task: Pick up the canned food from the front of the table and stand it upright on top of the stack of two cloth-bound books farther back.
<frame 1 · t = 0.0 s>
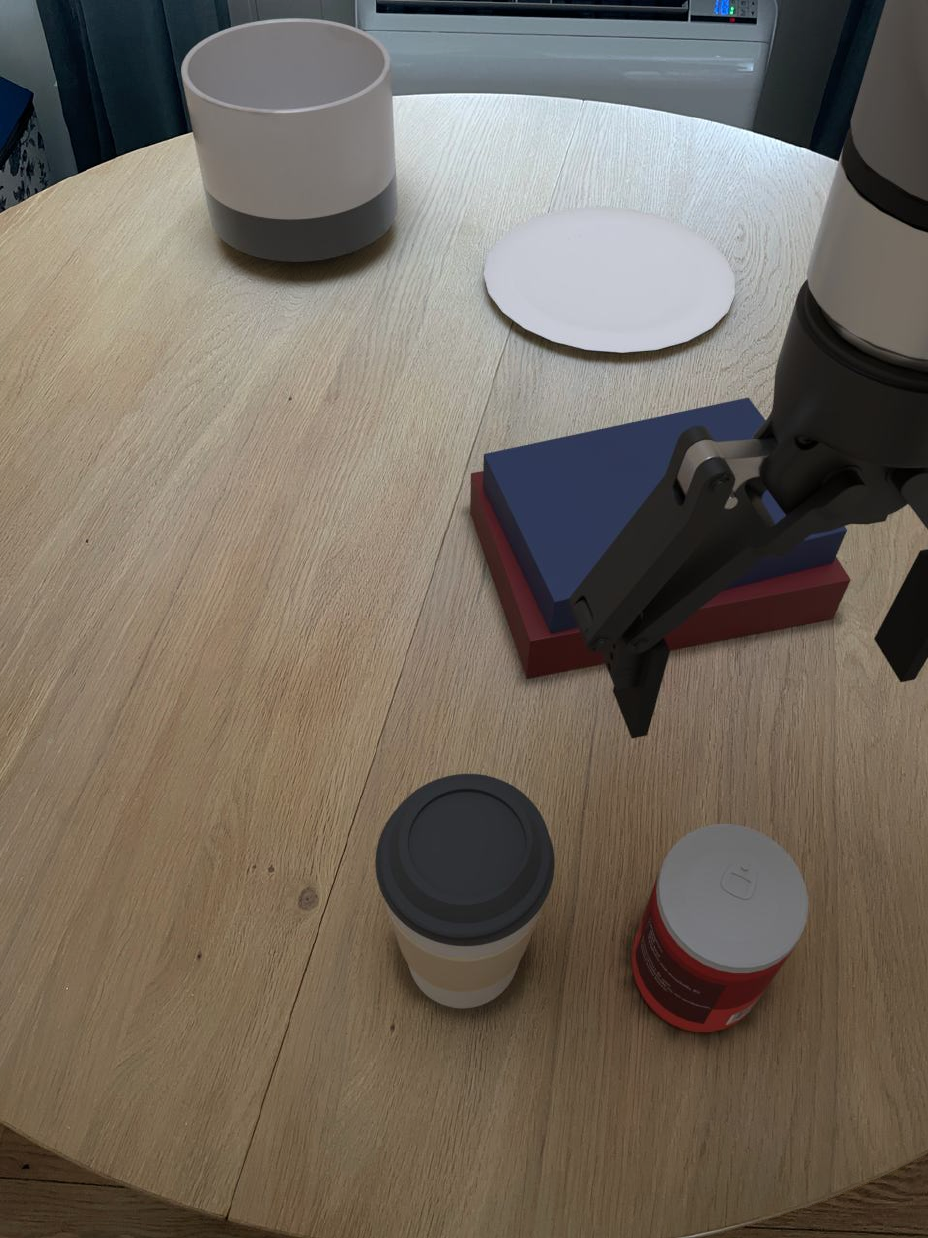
hand: (764, 686, 50), 20 cm above the table, tool pointing down, fingers open, 13 cm apart
canned food: (693, 970, 62), on the table
planter: (307, 237, 110), on the table
coffee cup: (463, 951, 62), on the table
plate: (607, 288, 105), on the table
book stack: (644, 563, 82), on the table
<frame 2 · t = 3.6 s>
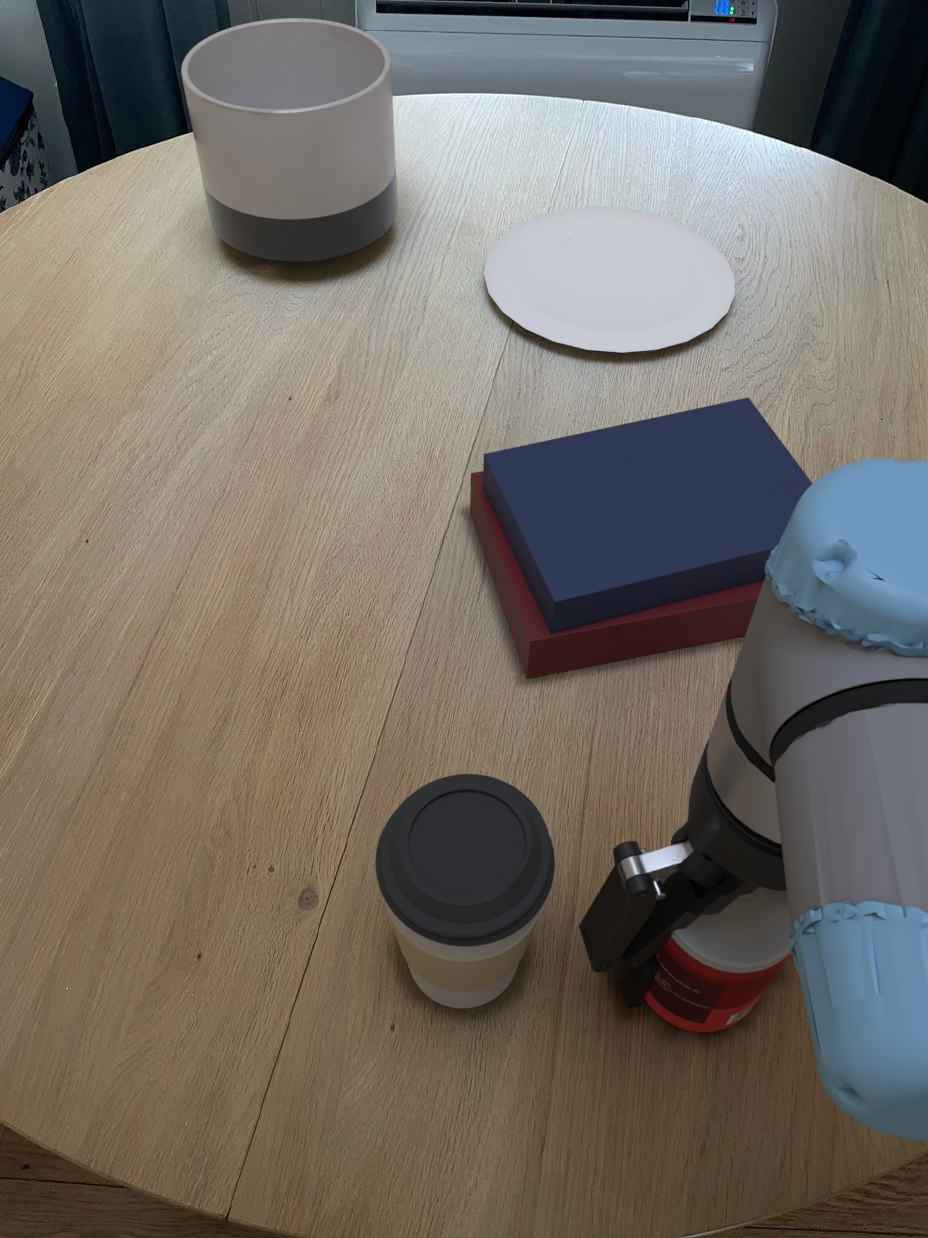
hand: (695, 967, 61), 0 cm above the table, tool pointing down, fingers closed on canned food, 8 cm apart
canned food: (693, 969, 62), on the table, touching gripper
everything else where it was.
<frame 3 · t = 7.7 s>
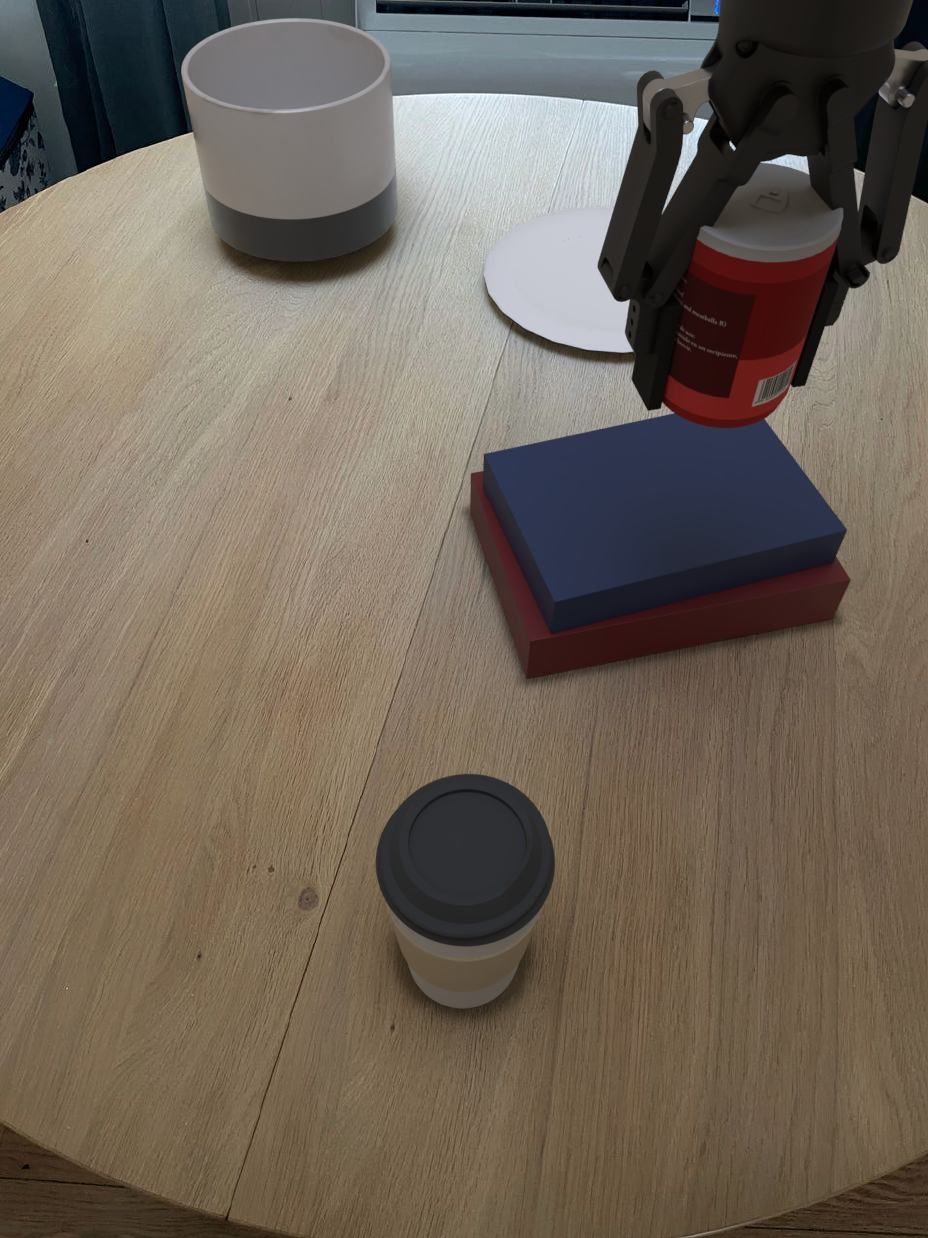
hand: (718, 382, 58), 24 cm above the table, tool pointing down, fingers closed on canned food, 8 cm apart
canned food: (716, 387, 58), point 24 cm above the table, touching gripper
everything else where it was.
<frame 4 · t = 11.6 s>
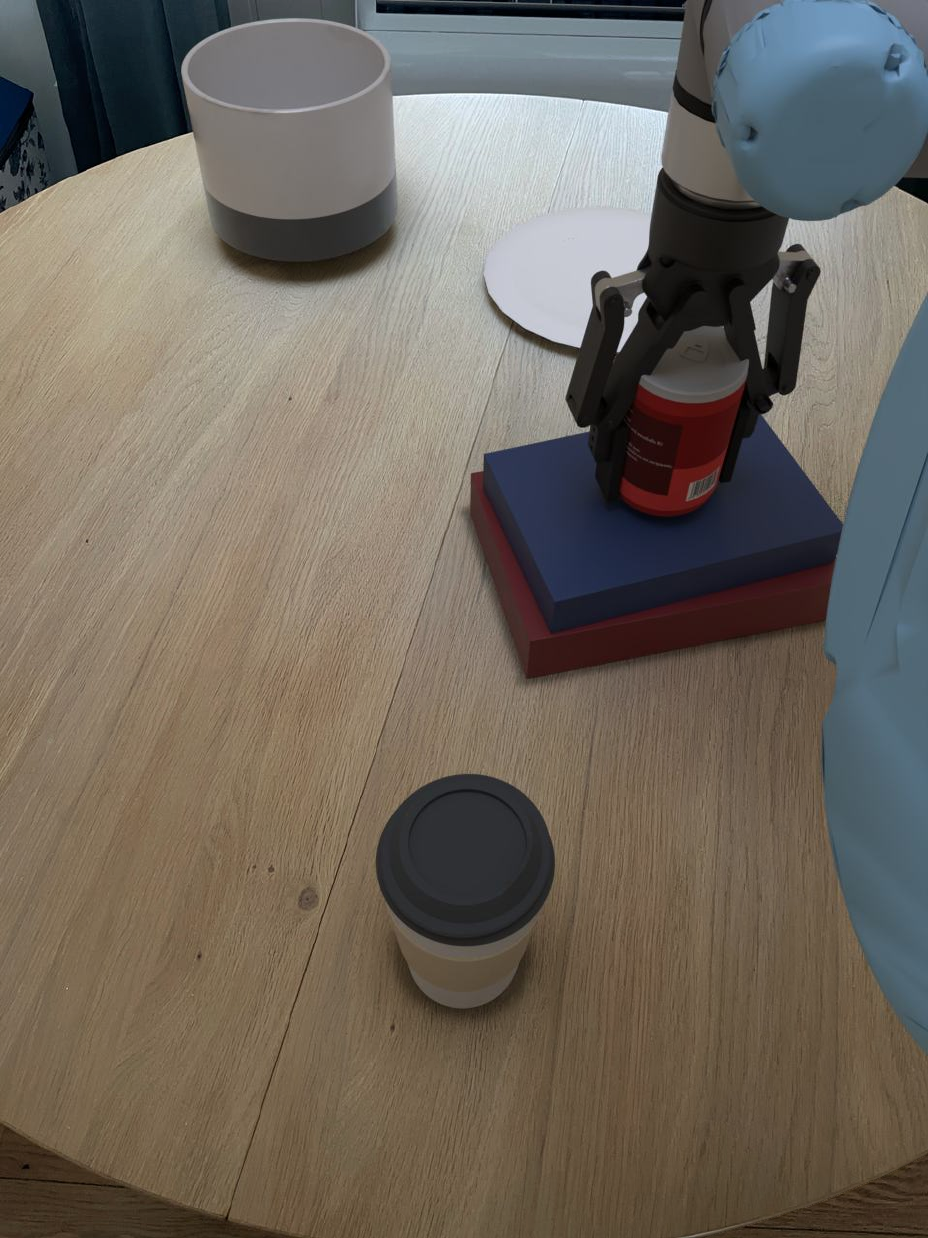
hand: (662, 478, 74), 9 cm above the table, tool pointing down, fingers closed on canned food, 8 cm apart
canned food: (661, 482, 75), point 9 cm above the table, touching gripper
everything else where it was.
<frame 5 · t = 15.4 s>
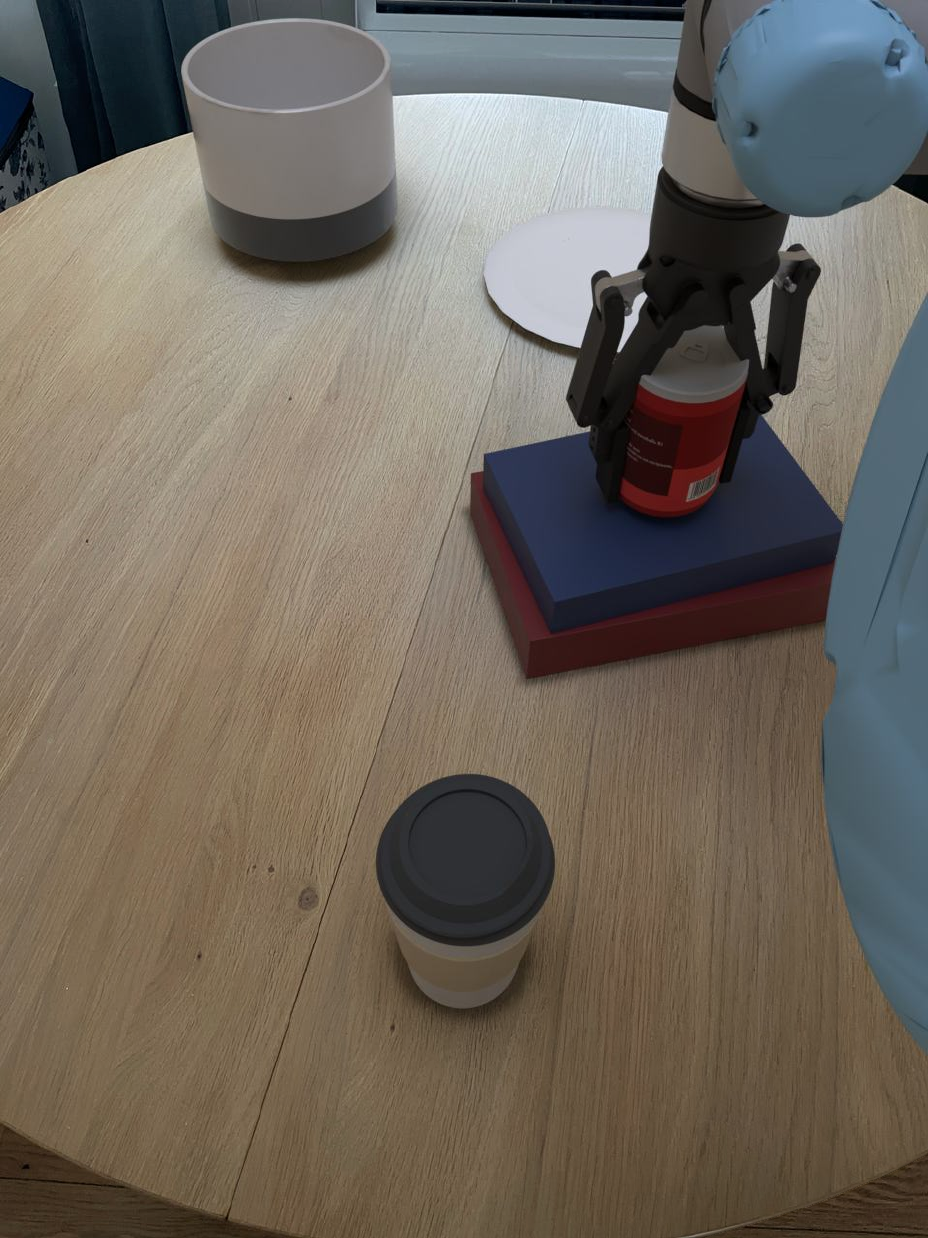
hand: (662, 479, 74), 9 cm above the table, tool pointing down, fingers closed on canned food, 8 cm apart
canned food: (661, 483, 75), point 9 cm above the table, touching gripper
everything else where it was.
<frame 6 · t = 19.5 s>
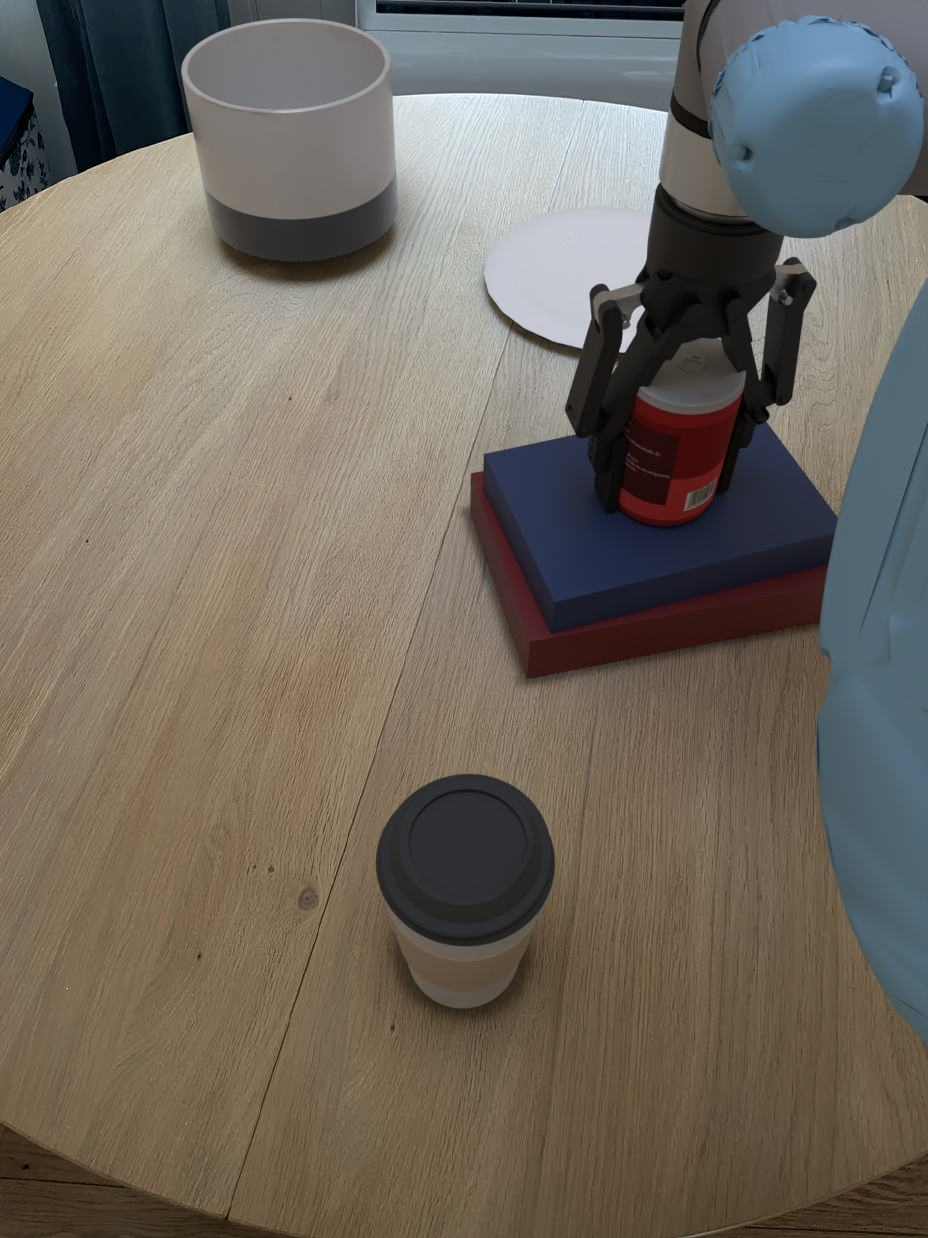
hand: (660, 488, 75), 8 cm above the table, tool pointing down, fingers closed on canned food, 8 cm apart
canned food: (659, 491, 75), point 8 cm above the table, touching gripper
everything else where it was.
when the fingers open (10 cm above the table, at t = 21.5 s): canned food drops 2 cm, resting on book stack.
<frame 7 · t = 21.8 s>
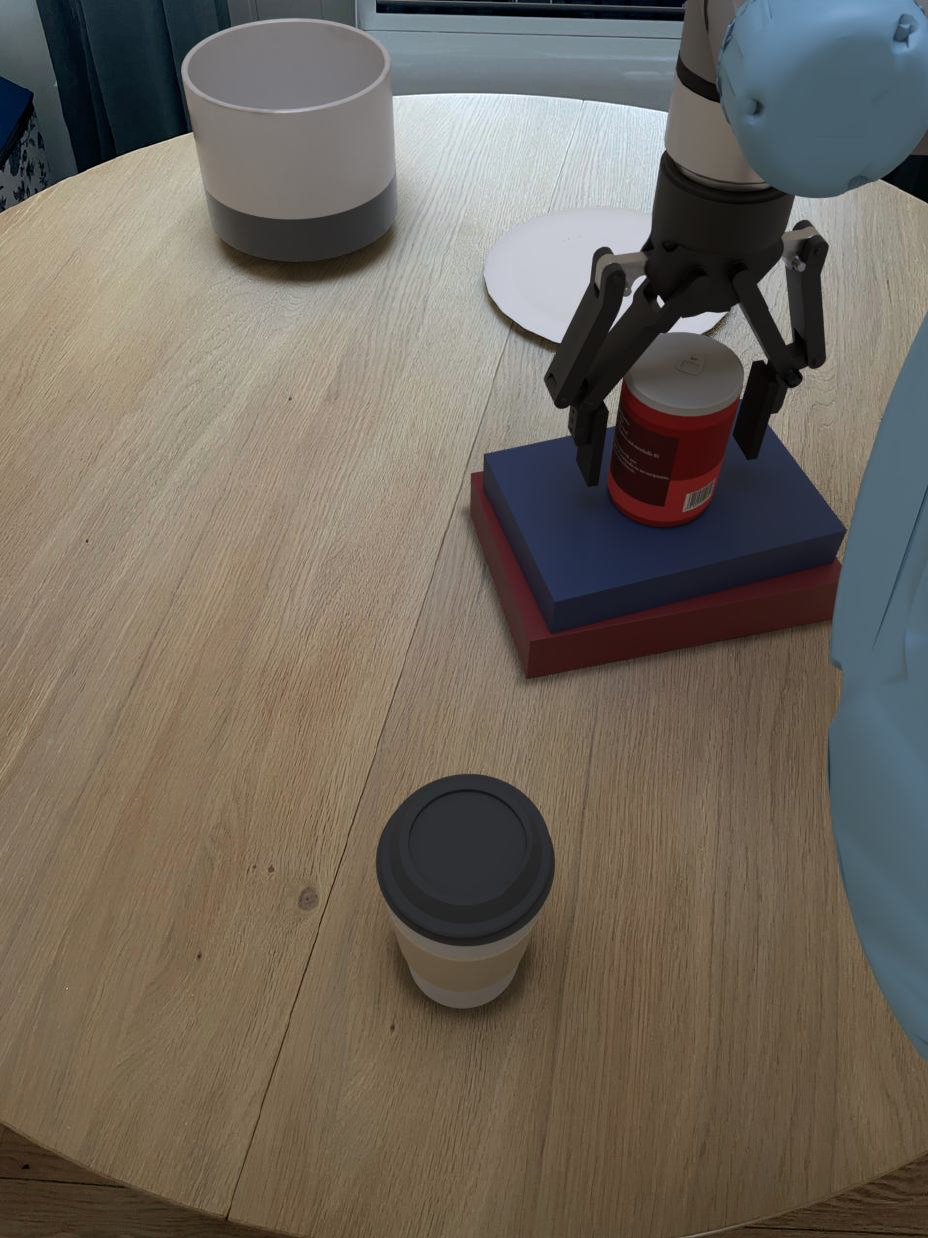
hand: (666, 459, 73), 11 cm above the table, tool pointing down, fingers open, 11 cm apart
canned food: (658, 492, 75), point 8 cm above the table, touching book stack
everything else where it was.
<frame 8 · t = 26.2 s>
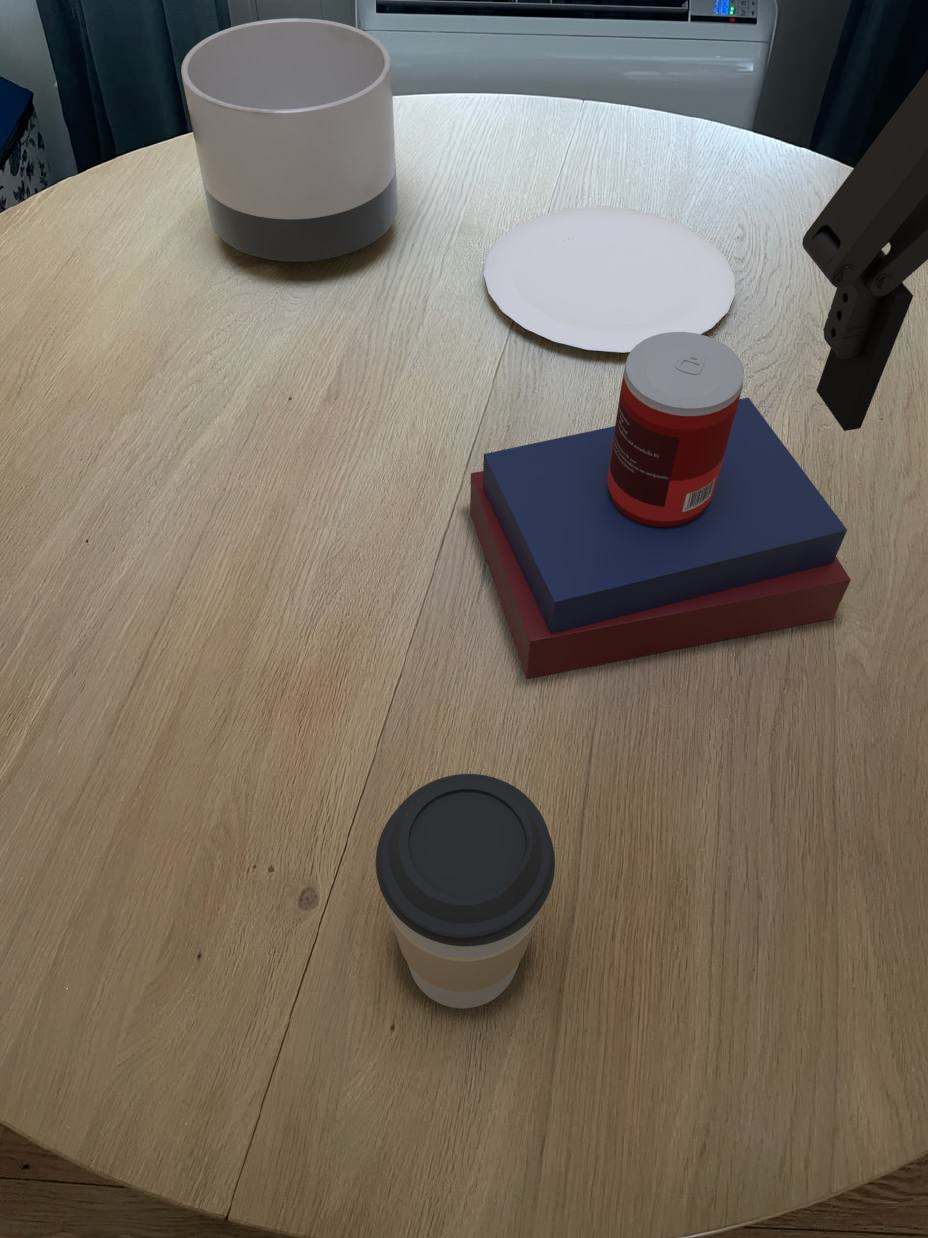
nothing on the table moved.
at the end: canned food inside the target area on the book stack (0.1 cm from its centre), point 7.8 cm above the book stack's base; canned food tilted 0°; the gripper is holding nothing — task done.
